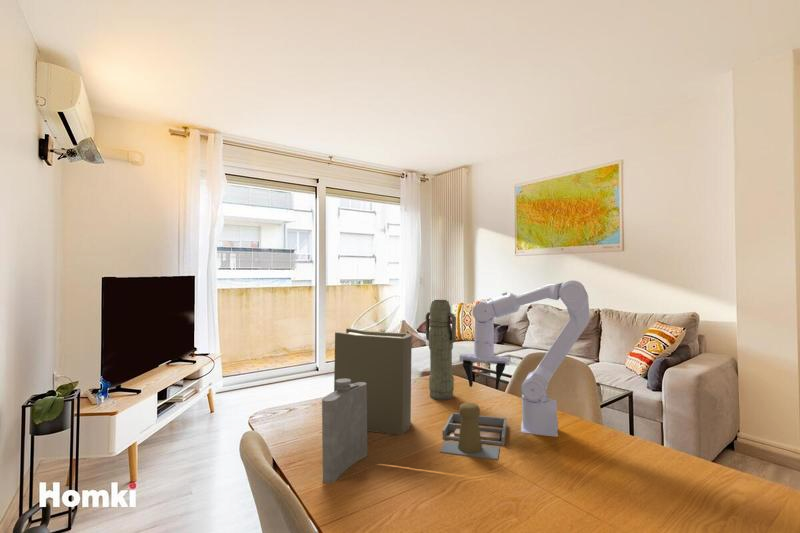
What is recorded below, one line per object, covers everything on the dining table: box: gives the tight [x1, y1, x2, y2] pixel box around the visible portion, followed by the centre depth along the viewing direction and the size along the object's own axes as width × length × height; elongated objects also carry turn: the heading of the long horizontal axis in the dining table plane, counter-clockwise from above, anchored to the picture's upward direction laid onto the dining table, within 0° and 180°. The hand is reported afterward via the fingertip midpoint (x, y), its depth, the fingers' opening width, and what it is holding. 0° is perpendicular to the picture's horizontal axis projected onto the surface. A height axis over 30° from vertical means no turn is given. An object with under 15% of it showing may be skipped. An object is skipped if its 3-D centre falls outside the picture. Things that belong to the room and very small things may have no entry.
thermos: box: [425, 299, 457, 401], centre depth 142 cm, size 9×12×35 cm
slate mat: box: [439, 440, 500, 461], centre depth 97 cm, size 14×6×1 cm, turn 72°
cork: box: [457, 402, 483, 453], centre depth 98 cm, size 6×6×11 cm
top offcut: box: [454, 428, 502, 442], centre depth 105 cm, size 12×4×1 cm, turn 71°
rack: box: [441, 412, 508, 446], centre depth 109 cm, size 16×14×2 cm
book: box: [333, 327, 413, 436], centre depth 115 cm, size 22×9×28 cm, turn 74°
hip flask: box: [321, 378, 368, 484], centre depth 91 cm, size 16×4×20 cm, turn 154°
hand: (483, 387), depth 117 cm, fingers open, 7 cm apart
